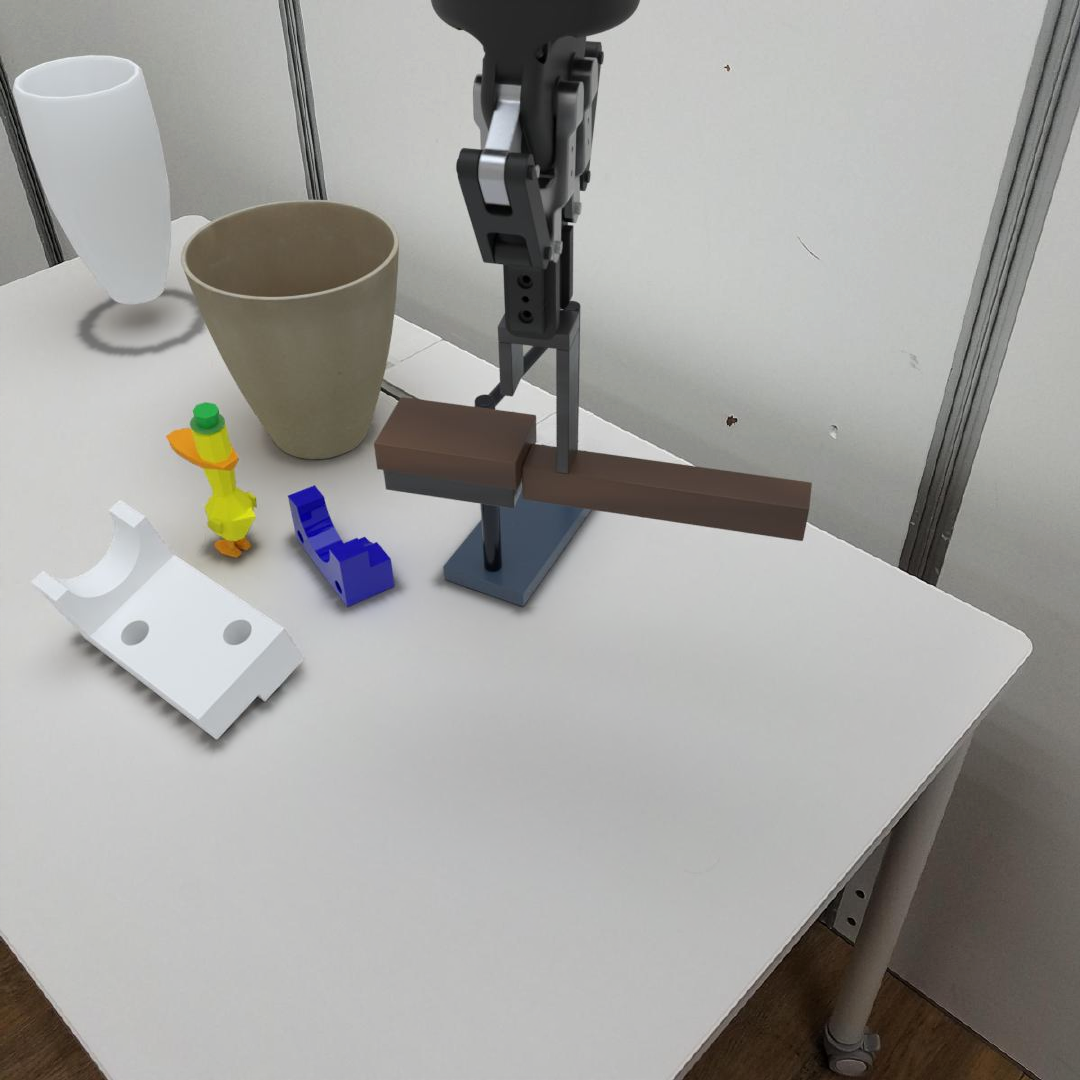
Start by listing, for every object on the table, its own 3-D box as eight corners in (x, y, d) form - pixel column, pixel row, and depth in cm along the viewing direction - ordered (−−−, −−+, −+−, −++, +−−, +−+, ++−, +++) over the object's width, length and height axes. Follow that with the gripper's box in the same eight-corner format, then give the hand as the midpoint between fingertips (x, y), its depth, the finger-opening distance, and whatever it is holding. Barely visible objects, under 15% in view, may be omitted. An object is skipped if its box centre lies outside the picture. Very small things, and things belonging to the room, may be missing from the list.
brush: (801, 556, 51) (858, 267, 41) (380, 491, 55) (341, 214, 45) (807, 501, 54) (861, 219, 44) (406, 444, 58) (375, 173, 48)
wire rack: (614, 477, 83) (622, 304, 73) (523, 607, 73) (518, 426, 63) (542, 456, 85) (540, 284, 75) (443, 579, 75) (427, 400, 65)
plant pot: (424, 479, 83) (405, 288, 72) (221, 500, 82) (171, 308, 71) (411, 370, 94) (392, 189, 83) (231, 386, 92) (189, 205, 82)
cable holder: (394, 586, 75) (388, 541, 72) (347, 606, 73) (339, 562, 71) (342, 521, 80) (334, 477, 77) (296, 539, 78) (287, 495, 76)
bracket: (93, 646, 72) (30, 582, 66) (172, 568, 75) (119, 499, 69) (223, 746, 66) (167, 686, 60) (304, 658, 69) (259, 591, 63)
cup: (226, 300, 103) (172, 59, 89) (164, 359, 96) (95, 107, 81) (128, 284, 105) (61, 47, 91) (61, 340, 98) (-24, 92, 84)
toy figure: (179, 542, 78) (136, 401, 70) (216, 515, 80) (178, 374, 72) (249, 578, 75) (213, 435, 67) (285, 548, 78) (255, 406, 70)
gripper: (602, -82, 31) (591, 420, 43) (677, -175, 41) (651, 254, 53) (352, -94, 33) (406, 395, 44) (482, -181, 43) (499, 238, 54)
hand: (540, 316), depth 49 cm, fingers closed on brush, 2 cm apart
